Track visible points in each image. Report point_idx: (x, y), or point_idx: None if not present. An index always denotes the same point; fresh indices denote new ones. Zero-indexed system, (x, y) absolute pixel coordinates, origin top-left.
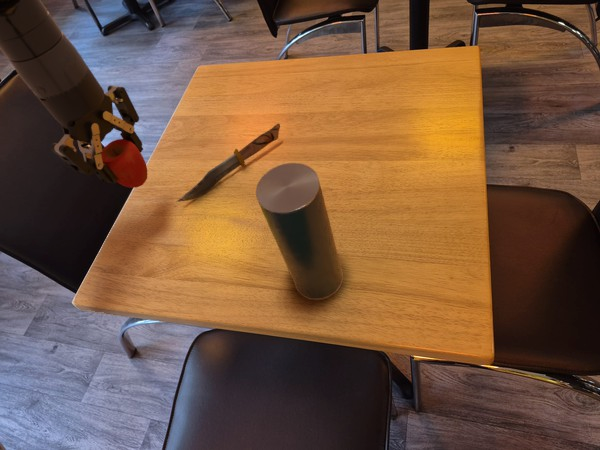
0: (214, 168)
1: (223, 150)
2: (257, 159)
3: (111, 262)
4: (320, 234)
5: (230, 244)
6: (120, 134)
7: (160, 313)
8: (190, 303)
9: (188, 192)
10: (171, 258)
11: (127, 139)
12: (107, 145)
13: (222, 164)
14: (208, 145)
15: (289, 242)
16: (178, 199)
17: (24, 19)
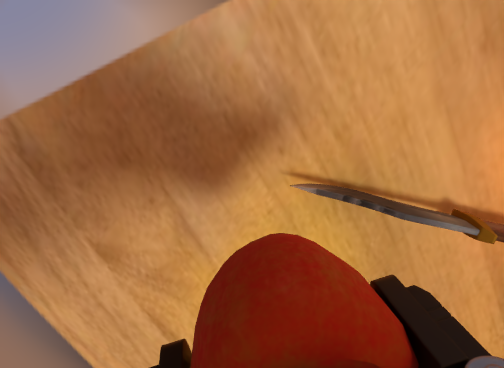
0: (421, 220)
1: (484, 117)
2: (478, 217)
3: (50, 144)
4: None
5: None
6: (440, 366)
7: (71, 341)
8: (129, 364)
9: (329, 193)
10: (169, 262)
11: (420, 364)
12: (329, 361)
13: (439, 226)
14: (492, 58)
15: None
16: (298, 187)
17: None
